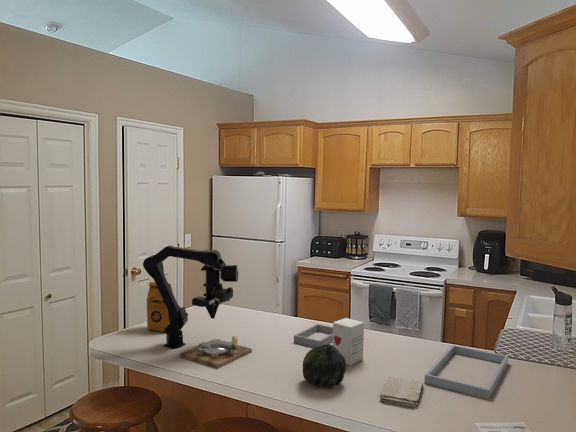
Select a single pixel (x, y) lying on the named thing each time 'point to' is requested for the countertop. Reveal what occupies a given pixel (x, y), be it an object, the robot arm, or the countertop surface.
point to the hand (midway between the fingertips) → (212, 318)
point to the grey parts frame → (301, 336)
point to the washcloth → (401, 391)
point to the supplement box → (349, 339)
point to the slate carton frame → (463, 386)
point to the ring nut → (218, 347)
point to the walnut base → (215, 362)
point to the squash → (324, 366)
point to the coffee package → (156, 309)
